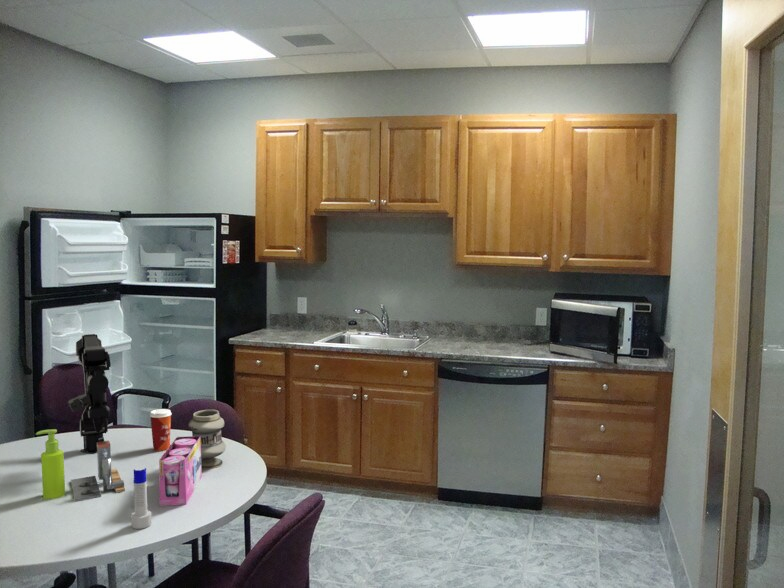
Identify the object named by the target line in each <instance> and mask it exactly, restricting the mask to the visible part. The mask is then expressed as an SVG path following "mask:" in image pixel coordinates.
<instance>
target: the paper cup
mask: <svg viewBox="0 0 784 588" xmlns="http://www.w3.org/2000/svg"><path fill="white" fill-rule="evenodd" d="M148 416H149V417H150V427H151V428H150V429H151V437H152V439H151V440H152V448H153V451H155V452H164V451H165V452H166V450H167V449H168V448H169V447H170V445H171V426H172V425H171V422H172V419H171V418H172V412H171V409H168V408H159V409H154V410H151V411H150V414H149V415H148Z"/></svg>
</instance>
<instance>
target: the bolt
mask: <svg viewBox="0 0 784 588" xmlns="http://www.w3.org/2000/svg"><path fill="white" fill-rule="evenodd" d="M133 489H134V490H133V491H134V497H133V498H134V512H132V514H131V515H130V516H131V527H132V528H133V529H136V530H141V529H142V530H143V529H146V528H148V527H150V526H151V525H152V511H150V510H148V491H147V489H148V487H147V468H146V467H144V466H138V467H135V468H134V469H133Z"/></svg>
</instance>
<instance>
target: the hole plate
mask: <svg viewBox="0 0 784 588" xmlns="http://www.w3.org/2000/svg"><path fill="white" fill-rule="evenodd" d="M97 480H98V479H97V477H96V475H91V476H85V477H80V478H73V479H70V484H71V487H72V488H71V489H72V493H73V497H74V502H79V501H85V500H91V499H95V498H101V497H102V493H101V489H100V487H99V483H100V481H97Z"/></svg>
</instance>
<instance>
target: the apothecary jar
mask: <svg viewBox="0 0 784 588" xmlns="http://www.w3.org/2000/svg"><path fill="white" fill-rule="evenodd" d="M187 426H188V429H189V430H190V431H191V433H192V436H201V437H200V438H201V470H209V469H210V470H212V469H215V468H218V467H221V466H222V465H223V460H222V459H220V458H217V457H219V456H220V455H222V454H223V453H224V452H226V447H227V446H226V443H225V441H224V440H223V439H222V438H223V437H222V428H223V427H225V420H224V418H222V417H221V416H220V412H219V410H216V409H203V410H202V409H201V410H198V411H195V412H194V413H193V414H192V419H191V420H189V422H188V425H187Z"/></svg>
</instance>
